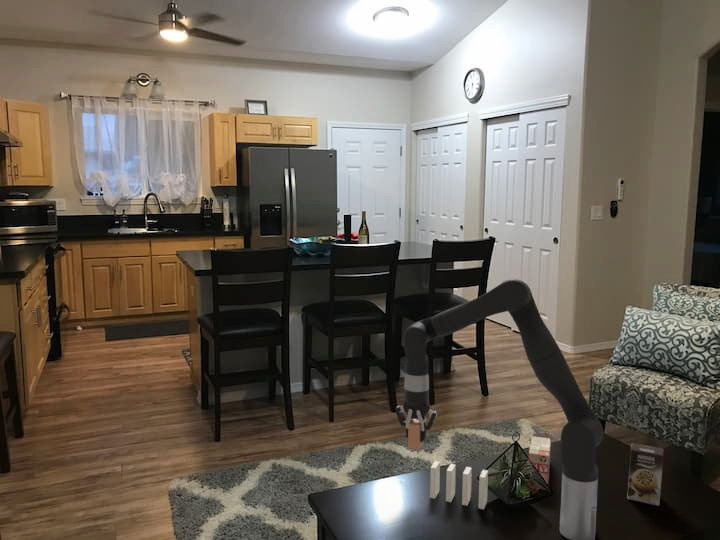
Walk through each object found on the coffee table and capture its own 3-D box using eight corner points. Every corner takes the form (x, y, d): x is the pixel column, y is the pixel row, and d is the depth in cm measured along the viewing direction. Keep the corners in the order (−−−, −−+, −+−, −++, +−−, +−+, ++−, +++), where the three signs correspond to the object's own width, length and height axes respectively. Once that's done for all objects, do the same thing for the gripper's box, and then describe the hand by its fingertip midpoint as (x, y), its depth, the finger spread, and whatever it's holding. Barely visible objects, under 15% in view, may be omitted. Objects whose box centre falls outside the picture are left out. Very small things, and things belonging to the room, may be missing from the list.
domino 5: (487, 501, 178) (488, 470, 177) (483, 509, 174) (484, 477, 172) (481, 500, 179) (482, 469, 178) (478, 508, 174) (479, 476, 173)
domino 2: (439, 491, 184) (440, 461, 183) (435, 499, 179) (435, 468, 178) (434, 490, 185) (435, 460, 183) (430, 498, 180) (430, 467, 179)
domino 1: (423, 444, 184) (424, 420, 183) (418, 450, 180) (419, 425, 179) (413, 442, 186) (413, 418, 185) (408, 448, 181) (408, 423, 180)
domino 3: (454, 495, 182) (455, 464, 181) (450, 502, 178) (451, 471, 176) (449, 494, 183) (450, 463, 181) (445, 501, 178) (446, 470, 177)
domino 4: (470, 498, 180) (471, 467, 179) (467, 506, 176) (468, 474, 174) (465, 497, 181) (466, 466, 180) (461, 504, 176) (462, 473, 175)
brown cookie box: (626, 499, 180) (629, 449, 178) (628, 490, 186) (631, 441, 184) (659, 506, 176) (663, 455, 174) (660, 497, 181) (663, 447, 179)
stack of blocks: (531, 461, 206) (532, 427, 205) (550, 463, 204) (551, 430, 203) (527, 488, 186) (528, 452, 185) (547, 492, 184) (549, 455, 183)
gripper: (442, 386, 181) (441, 439, 183) (399, 380, 187) (398, 432, 189) (435, 393, 174) (434, 448, 176) (391, 387, 180) (390, 440, 182)
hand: (415, 439), depth 183 cm, fingers closed on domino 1, 3 cm apart
